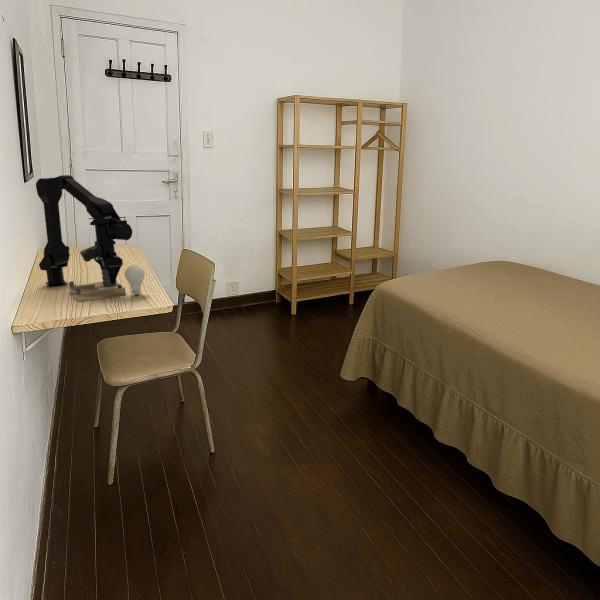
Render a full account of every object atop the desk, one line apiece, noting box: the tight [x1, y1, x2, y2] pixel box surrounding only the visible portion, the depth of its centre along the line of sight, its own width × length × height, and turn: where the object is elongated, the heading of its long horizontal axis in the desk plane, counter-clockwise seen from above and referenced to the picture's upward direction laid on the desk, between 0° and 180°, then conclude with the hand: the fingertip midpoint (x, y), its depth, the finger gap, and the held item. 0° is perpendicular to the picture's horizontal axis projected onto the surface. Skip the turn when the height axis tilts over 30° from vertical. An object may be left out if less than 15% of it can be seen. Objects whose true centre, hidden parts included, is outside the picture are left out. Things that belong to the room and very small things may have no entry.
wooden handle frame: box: [68, 281, 127, 303], centre depth 188 cm, size 14×16×4 cm
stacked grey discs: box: [101, 268, 118, 287], centre depth 190 cm, size 5×5×6 cm
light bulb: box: [124, 264, 146, 296], centre depth 185 cm, size 7×7×11 cm
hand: (109, 281), depth 190 cm, fingers open, 9 cm apart
